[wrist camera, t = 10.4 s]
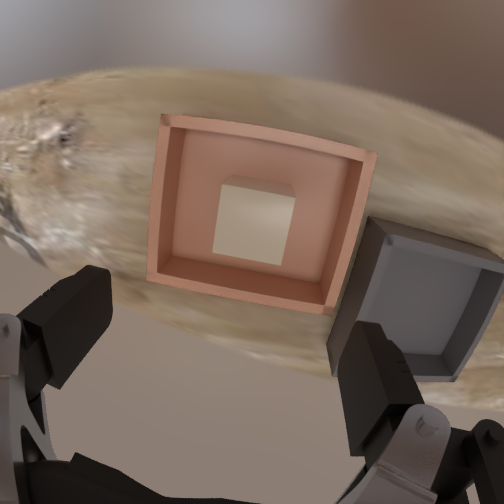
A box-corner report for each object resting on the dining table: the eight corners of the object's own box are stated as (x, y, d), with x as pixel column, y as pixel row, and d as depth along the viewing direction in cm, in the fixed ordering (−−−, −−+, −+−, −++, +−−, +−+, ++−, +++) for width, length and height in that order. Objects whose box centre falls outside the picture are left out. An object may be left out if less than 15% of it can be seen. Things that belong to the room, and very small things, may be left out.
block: (291, 185, 22) (295, 197, 18) (280, 240, 24) (280, 265, 20) (233, 174, 22) (222, 184, 18) (224, 230, 24) (212, 252, 20)
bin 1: (359, 149, 22) (377, 153, 18) (324, 288, 26) (331, 316, 22) (181, 117, 22) (161, 113, 18) (165, 257, 26) (146, 280, 22)
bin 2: (488, 249, 23) (513, 267, 19) (439, 355, 28) (454, 381, 24) (368, 215, 24) (386, 232, 19) (326, 344, 28) (332, 376, 24)
